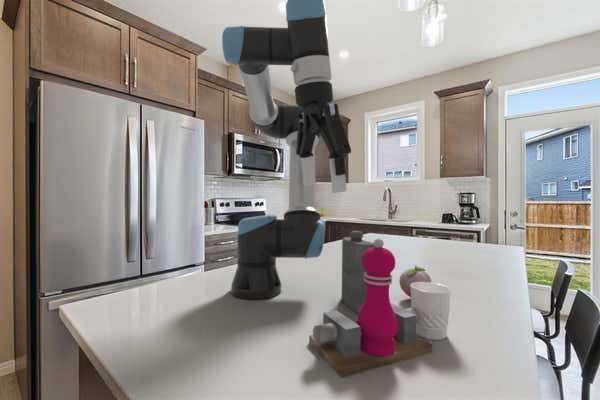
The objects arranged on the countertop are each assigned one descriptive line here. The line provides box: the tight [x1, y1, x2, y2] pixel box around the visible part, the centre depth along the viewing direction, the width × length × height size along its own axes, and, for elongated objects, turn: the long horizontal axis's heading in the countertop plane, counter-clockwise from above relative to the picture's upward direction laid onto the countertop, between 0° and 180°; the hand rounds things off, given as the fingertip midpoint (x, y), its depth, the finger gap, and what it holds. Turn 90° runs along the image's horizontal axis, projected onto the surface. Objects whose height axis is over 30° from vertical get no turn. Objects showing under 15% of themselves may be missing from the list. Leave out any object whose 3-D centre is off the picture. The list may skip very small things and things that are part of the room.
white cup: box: [410, 281, 452, 341], centre depth 63 cm, size 8×8×10 cm
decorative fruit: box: [398, 265, 432, 298], centre depth 84 cm, size 9×8×10 cm
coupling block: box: [308, 302, 433, 378], centre depth 56 cm, size 12×23×6 cm, turn 114°
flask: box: [341, 230, 375, 314], centre depth 79 cm, size 15×6×20 cm, turn 13°
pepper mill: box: [356, 238, 398, 356], centre depth 53 cm, size 7×7×20 cm
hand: (323, 188), depth 62 cm, fingers open, 13 cm apart
